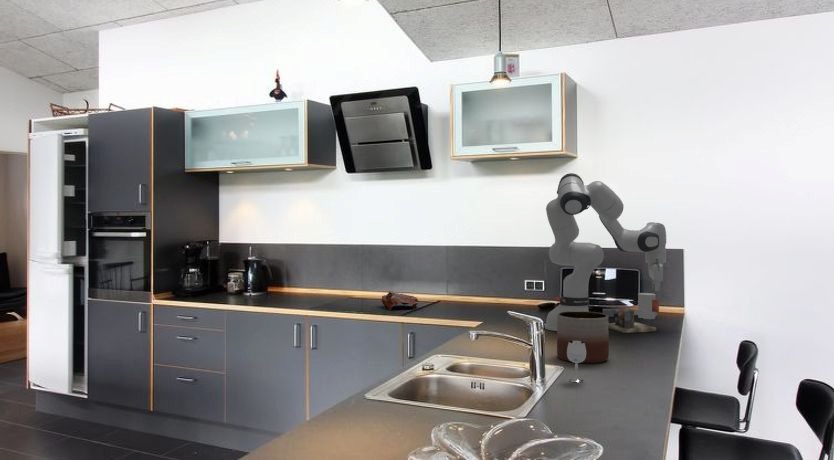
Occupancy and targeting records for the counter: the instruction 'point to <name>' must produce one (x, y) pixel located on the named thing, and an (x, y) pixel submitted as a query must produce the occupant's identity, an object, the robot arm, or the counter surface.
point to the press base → (636, 325)
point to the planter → (583, 334)
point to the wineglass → (576, 355)
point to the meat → (398, 300)
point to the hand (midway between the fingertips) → (655, 289)
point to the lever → (616, 311)
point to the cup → (645, 304)
